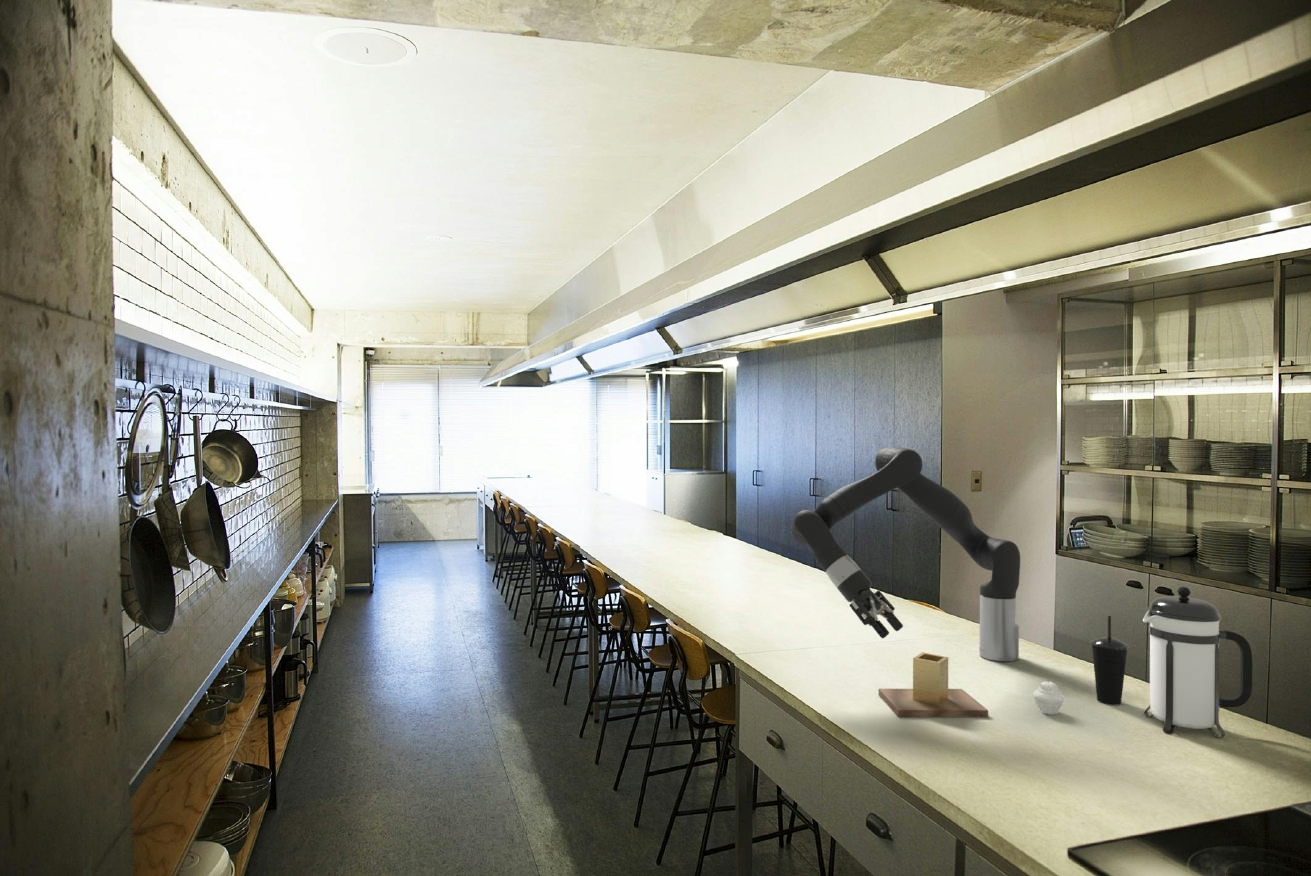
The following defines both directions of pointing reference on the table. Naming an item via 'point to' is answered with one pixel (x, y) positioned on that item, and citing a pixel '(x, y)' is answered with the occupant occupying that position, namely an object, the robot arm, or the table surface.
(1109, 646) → the drinking cup
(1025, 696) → the table surface
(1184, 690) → the coffee press
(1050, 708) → the muffin
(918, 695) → the wooden sleeve
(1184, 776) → the table surface
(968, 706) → the post board
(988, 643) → the robot arm
